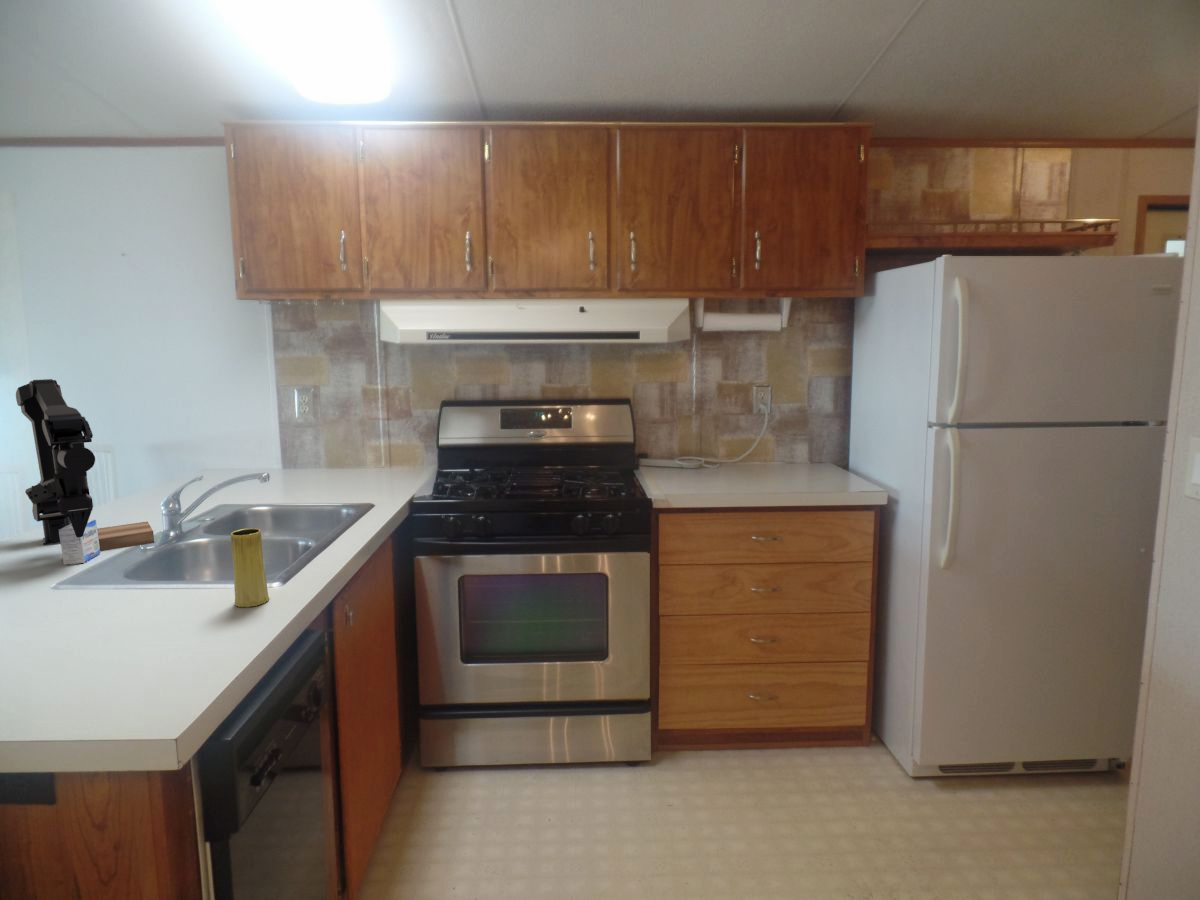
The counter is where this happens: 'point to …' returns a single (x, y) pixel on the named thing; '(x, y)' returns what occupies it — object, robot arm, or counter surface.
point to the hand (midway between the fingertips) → (78, 532)
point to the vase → (248, 568)
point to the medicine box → (79, 544)
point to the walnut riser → (125, 535)
